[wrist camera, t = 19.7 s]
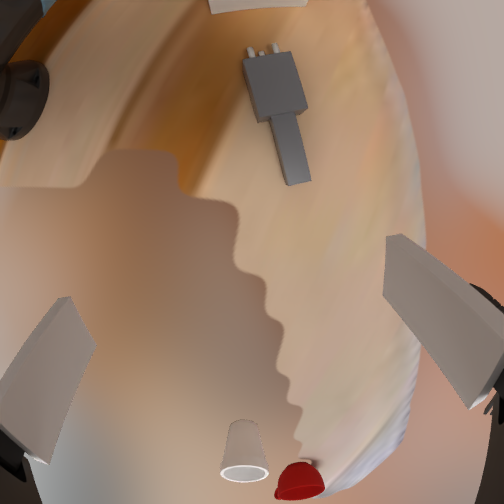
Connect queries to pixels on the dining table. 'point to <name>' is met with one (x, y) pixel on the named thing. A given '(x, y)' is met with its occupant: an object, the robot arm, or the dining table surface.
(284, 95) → the plug
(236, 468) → the foam cup
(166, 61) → the dining table surface
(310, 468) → the ceramic cup
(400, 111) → the dining table surface
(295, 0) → the pillar
